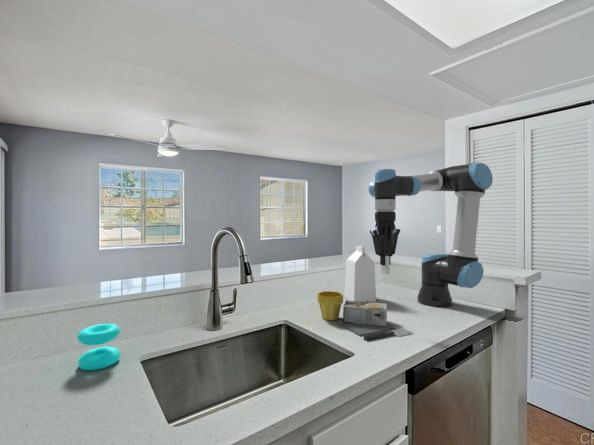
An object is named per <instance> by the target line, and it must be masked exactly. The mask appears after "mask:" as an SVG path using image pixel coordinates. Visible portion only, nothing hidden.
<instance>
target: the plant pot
mask: <svg viewBox="0 0 594 445" xmlns="http://www.w3.org/2000/svg"><path fill="white" fill-rule="evenodd" d="M316 295H317V303H318V304H319V308H320V309H319V310H320V313H321V318H322V319H323V320H325V321H336V320H338V319H339V318H340V312H341V306H342V304H343V303H344V294H343V293H342V292H340V291H333V290H328V291H327V290H326V291H325V290H324V291H320V292H318V293H317V294H316Z"/></svg>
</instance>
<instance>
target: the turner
mask: <svg viewBox="0 0 594 445" xmlns="http://www.w3.org/2000/svg"><path fill="white" fill-rule="evenodd" d="M413 334H414V332H412V331H410V330H408V329H405V328H402V327H401V328H395V329H393V330H388V331H383V332H378V333H374V334H369V335H364V336H363V341H365V342H368V341H369V342H370V341H373V340H378V339H382V338H386V337H387V338H388V337H392V336H396V337H397V338H399V337H403V336H407V335H408V336H409V335H413Z"/></svg>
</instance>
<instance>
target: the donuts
mask: <svg viewBox="0 0 594 445" xmlns="http://www.w3.org/2000/svg"><path fill="white" fill-rule="evenodd" d="M120 331H121V329H120V327H119V326H118V325H117V324H114V323H100V324H93V325H91V326H87V327H85V328H83V329H82V330H81V331H80V332H78V334H77V340H78V342H79V343H81V344H82V345H86V346H98V345H99V347H96V348H91V349H90V350H87V351H86V352H84V353H83V354H81V356H80V357H79V359H78V361H77V365H78V367H79V368H80V369H81V370H84V371H99V370H103V369H105V368H108V367H111V366H113V365H114V364H116V363H117V362H118V361H119V359H120V358H121V353H120V350H119V349H118V348H117V347H114V346H100V345H103V344H107V343H110V342H111V341H113V340H114V339H116V338H117V337H118V336H119V335H120Z"/></svg>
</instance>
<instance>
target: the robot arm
mask: <svg viewBox="0 0 594 445" xmlns="http://www.w3.org/2000/svg"><path fill="white" fill-rule="evenodd" d="M396 173H397V172H396V169H392V168H384V169H383V168H382V169H377V170H376V171H375V172H374V180H372V181H371V182H370V183H369V185H368V193H369V195H370V196H371V197H373V198H374V210H375V213H374V221H375V225H374V228H373V229H370V230H369V233H370V236H371V238H372V243H373V247H374V252H375V255H377V256H378V257H379V264H380V268H381V269H380V270H381V272H380V273H381V274H384V275H390V265H391V260H392V259H391V257H392V258H393V255H395V254H396V251H397V250H396V249H397V244H398V240H399V239H398V238H399V235H400V233H401V229H400V228H397V227H396V225H395V222H396V219H397V218H396V216H397V215H396V214H397V213H396V211H395V210H397V209H396V206H397V205H396V204H397V202H396V201H397V200H396V198H397V197H400V196H401V197H405V196H408V197H409V196H410V197H411V196H416V195H418V194H419V193H420V192H427V191H431V192H454V194H455V196H456V197H457V204H456V215H455V223H454V224H455V225H454V236H453V243H452V251H451V252H449V253H439V254H438V253H432V254H425V255H423V256H422V259H421V286H420V289H419V291H418V294H417V302H418V303H419V304H423V305H427V306H431V307H440V308H441V307H443V308H445V307H450V306H452V305H453V298H452V296H451V292H450V290H449V285H452V286H456V287H459V288H465V289H473V288H475V287H477V286H478V285H479V284H480V282H481V281H482V280H483V276H484V267H483V266H484V265H482V263H481V262H479V256H478V255H477V254H476V244H477V232H478V223H479V213H480V205H481V204H480V203H481V198H482V197H484V196H485V193H486V190H488V189H490V188H491V186H492V185H493V181H494V180H493V173H492V171H491V169H490V167H489V166H488V165H487V164H486V163H484V162H471V163H467V164H466V163H465V164H461V165H453V166H448V167H444V168H441V169H437V170H433V171H429V172H428V173H423V174H415V175H397V174H396Z"/></svg>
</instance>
